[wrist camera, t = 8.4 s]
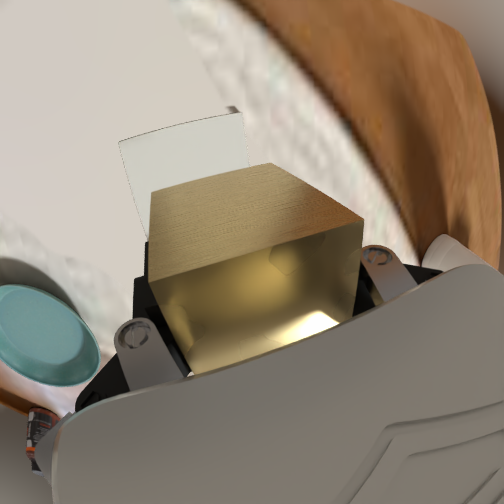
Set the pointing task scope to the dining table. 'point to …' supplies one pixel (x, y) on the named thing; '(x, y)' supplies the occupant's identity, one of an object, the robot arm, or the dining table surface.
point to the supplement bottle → (38, 432)
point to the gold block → (250, 263)
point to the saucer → (45, 338)
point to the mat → (182, 156)
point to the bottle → (449, 255)
